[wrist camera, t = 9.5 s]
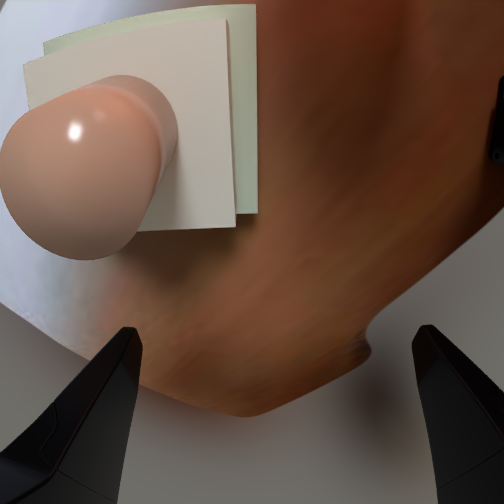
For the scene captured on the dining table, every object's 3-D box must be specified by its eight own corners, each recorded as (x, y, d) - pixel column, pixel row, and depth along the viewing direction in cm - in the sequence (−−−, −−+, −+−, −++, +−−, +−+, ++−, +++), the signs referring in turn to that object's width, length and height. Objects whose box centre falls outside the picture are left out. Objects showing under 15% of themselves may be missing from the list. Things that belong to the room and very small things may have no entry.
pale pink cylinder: (173, 66, 10) (131, 86, 6) (182, 184, 13) (159, 259, 9) (58, 87, 10) (-18, 124, 6) (79, 191, 13) (28, 260, 9)
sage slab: (254, 12, 13) (255, 4, 11) (256, 190, 20) (257, 213, 17) (69, 40, 13) (43, 42, 11) (94, 198, 20) (76, 220, 17)
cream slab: (229, 25, 12) (225, 18, 9) (236, 197, 17) (235, 227, 14) (55, 58, 12) (22, 64, 9) (84, 208, 17) (63, 236, 14)
